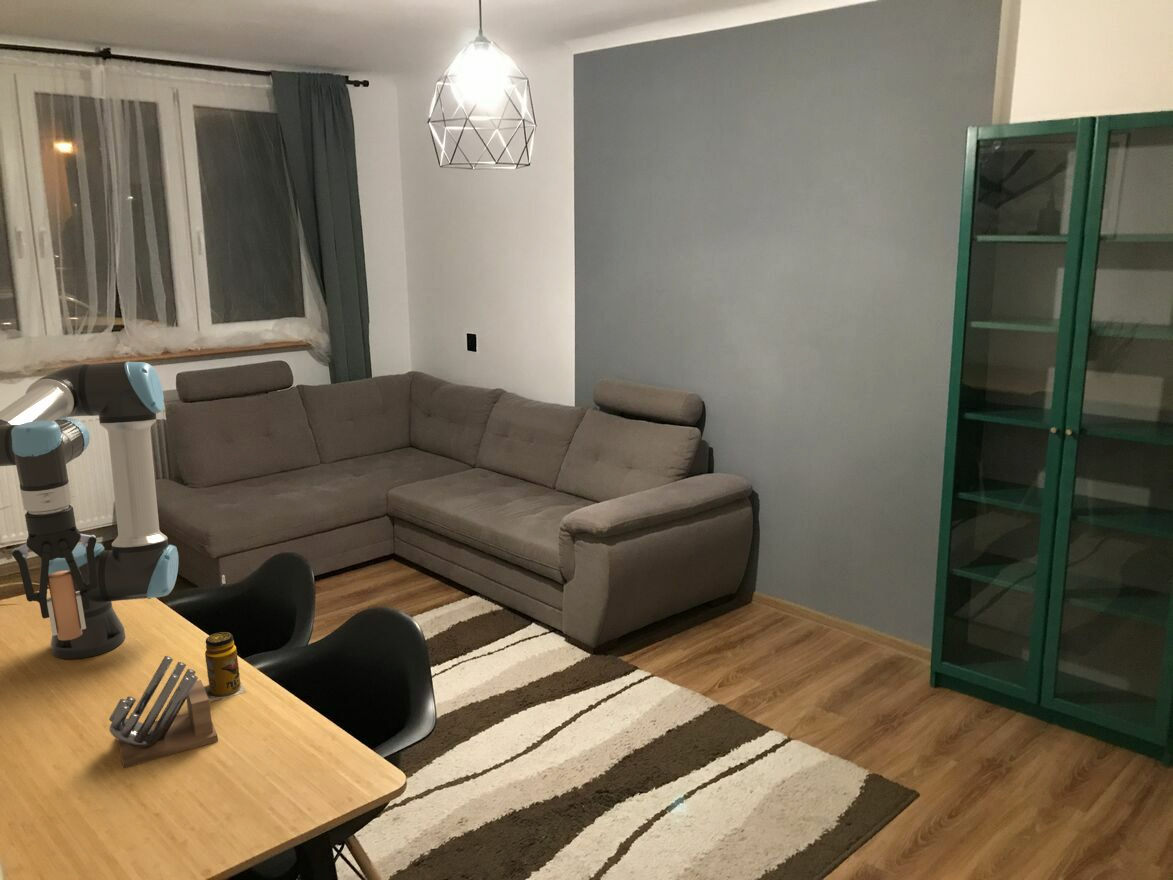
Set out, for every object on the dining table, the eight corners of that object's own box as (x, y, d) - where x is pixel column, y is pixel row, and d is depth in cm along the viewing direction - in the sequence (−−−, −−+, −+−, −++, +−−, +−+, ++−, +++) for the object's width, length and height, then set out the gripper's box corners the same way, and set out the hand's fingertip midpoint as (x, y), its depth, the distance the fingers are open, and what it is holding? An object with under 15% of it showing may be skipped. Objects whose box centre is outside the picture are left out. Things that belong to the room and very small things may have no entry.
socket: (110, 740, 175) (99, 670, 171) (199, 717, 182) (190, 648, 179) (115, 767, 166) (103, 693, 163) (208, 740, 174) (199, 669, 170)
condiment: (246, 692, 192) (240, 638, 189) (203, 704, 187) (196, 649, 185) (237, 678, 198) (231, 626, 195) (195, 689, 193) (188, 636, 190)
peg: (57, 634, 172) (47, 573, 169) (81, 629, 174) (71, 568, 171) (58, 642, 169) (47, 580, 166) (83, 636, 170) (72, 575, 168)
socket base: (117, 737, 176) (111, 698, 174) (207, 712, 184) (202, 676, 182) (123, 767, 166) (117, 727, 164) (218, 740, 174) (213, 702, 172)
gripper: (-8, 522, 158) (15, 649, 164) (103, 505, 166) (122, 625, 172) (-7, 511, 164) (15, 633, 170) (100, 495, 173) (118, 611, 178)
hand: (69, 629), depth 171 cm, fingers closed on peg, 4 cm apart
